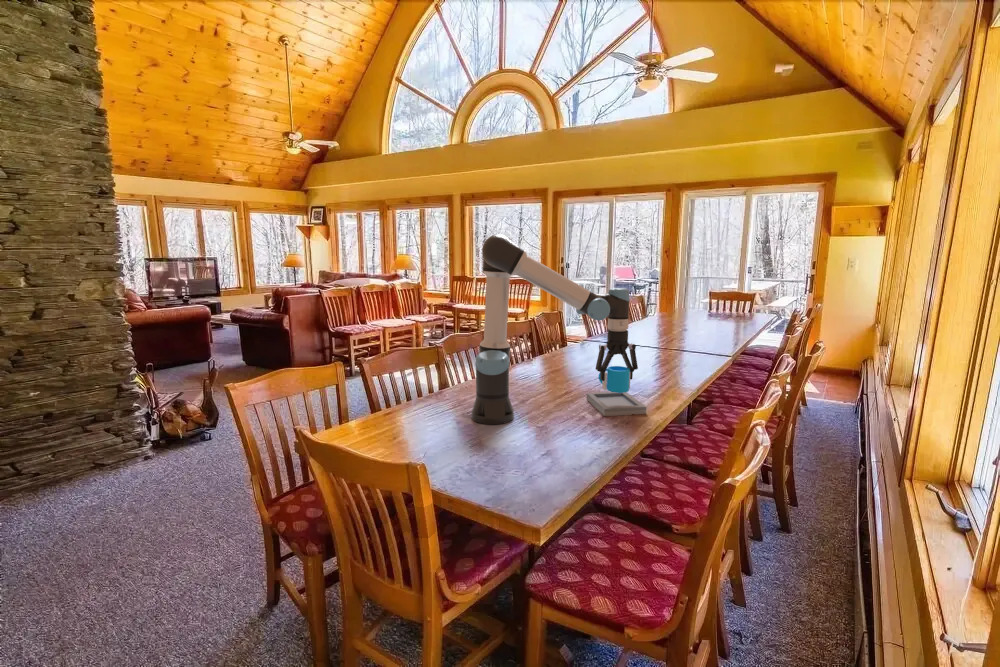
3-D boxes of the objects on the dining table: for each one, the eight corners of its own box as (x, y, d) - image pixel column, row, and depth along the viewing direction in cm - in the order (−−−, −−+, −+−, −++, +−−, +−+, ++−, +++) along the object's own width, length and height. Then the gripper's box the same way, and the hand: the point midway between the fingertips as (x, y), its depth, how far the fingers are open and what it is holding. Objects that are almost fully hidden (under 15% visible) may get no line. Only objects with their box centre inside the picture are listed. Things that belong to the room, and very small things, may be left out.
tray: (604, 416, 179) (604, 409, 178) (586, 399, 198) (586, 393, 198) (646, 413, 181) (646, 406, 181) (624, 397, 201) (624, 391, 200)
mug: (632, 388, 188) (632, 367, 187) (624, 394, 182) (625, 372, 180) (602, 383, 195) (603, 363, 194) (593, 388, 188) (594, 368, 187)
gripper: (593, 332, 179) (592, 392, 183) (649, 330, 182) (646, 389, 186) (587, 328, 187) (586, 386, 191) (640, 327, 190) (638, 384, 194)
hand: (616, 388), depth 188 cm, fingers closed on mug, 8 cm apart
